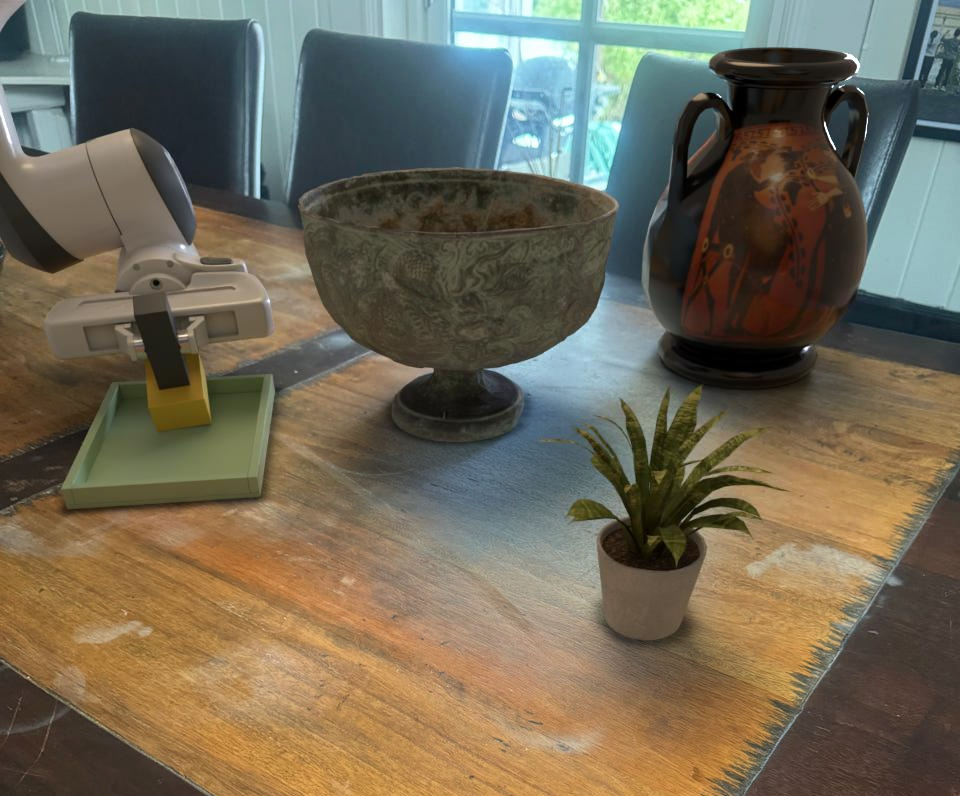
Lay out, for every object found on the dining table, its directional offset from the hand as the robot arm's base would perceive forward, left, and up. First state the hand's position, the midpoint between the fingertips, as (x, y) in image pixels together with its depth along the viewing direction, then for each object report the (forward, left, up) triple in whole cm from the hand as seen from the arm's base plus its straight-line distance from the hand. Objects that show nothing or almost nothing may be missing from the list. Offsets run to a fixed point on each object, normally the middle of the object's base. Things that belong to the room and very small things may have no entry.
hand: (163, 349), depth 83 cm
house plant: (+34, -34, -8) cm, 49 cm away
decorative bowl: (+26, +2, -8) cm, 28 cm away
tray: (0, -2, -8) cm, 9 cm away
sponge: (0, +3, -7) cm, 7 cm away
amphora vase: (+56, +10, -8) cm, 58 cm away
